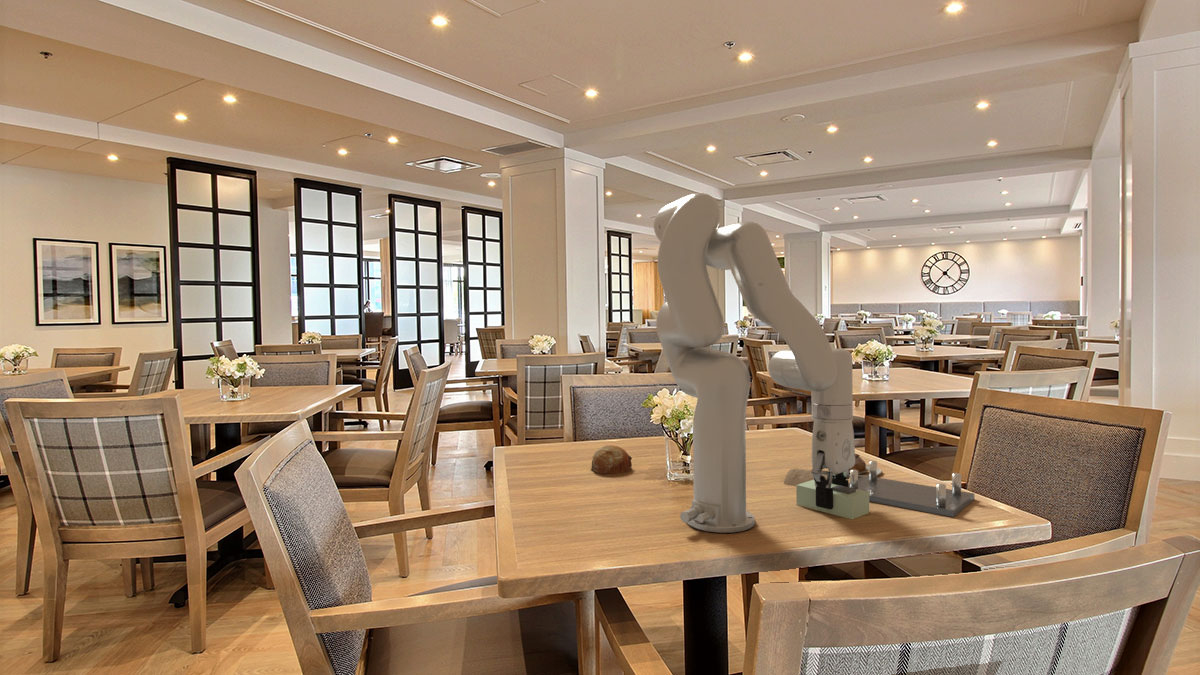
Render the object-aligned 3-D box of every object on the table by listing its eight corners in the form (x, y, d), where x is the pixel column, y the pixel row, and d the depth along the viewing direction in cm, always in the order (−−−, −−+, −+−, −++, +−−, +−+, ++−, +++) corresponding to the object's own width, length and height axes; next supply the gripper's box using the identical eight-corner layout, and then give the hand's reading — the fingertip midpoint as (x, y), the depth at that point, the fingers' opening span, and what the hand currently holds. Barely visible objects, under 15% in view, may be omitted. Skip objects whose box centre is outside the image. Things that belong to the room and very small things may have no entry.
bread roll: (593, 480, 161) (580, 453, 159) (627, 460, 163) (614, 433, 162) (605, 490, 151) (591, 462, 150) (641, 469, 154) (627, 440, 153)
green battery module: (852, 519, 117) (852, 493, 116) (796, 504, 126) (796, 481, 126) (869, 512, 120) (869, 487, 120) (813, 498, 130) (813, 475, 130)
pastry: (853, 465, 159) (853, 447, 159) (893, 476, 148) (893, 457, 148) (817, 471, 154) (817, 452, 153) (856, 482, 143) (856, 462, 143)
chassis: (953, 517, 117) (953, 489, 117) (836, 495, 132) (836, 470, 132) (974, 499, 128) (974, 473, 127) (864, 480, 143) (864, 457, 143)
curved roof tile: (828, 494, 135) (828, 481, 135) (780, 487, 140) (780, 475, 140) (841, 478, 147) (841, 467, 147) (797, 473, 152) (797, 462, 152)
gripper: (831, 420, 113) (832, 518, 114) (868, 408, 126) (868, 496, 127) (793, 416, 119) (793, 510, 119) (831, 405, 131) (832, 490, 132)
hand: (832, 502), depth 123 cm, fingers closed on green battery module, 6 cm apart
